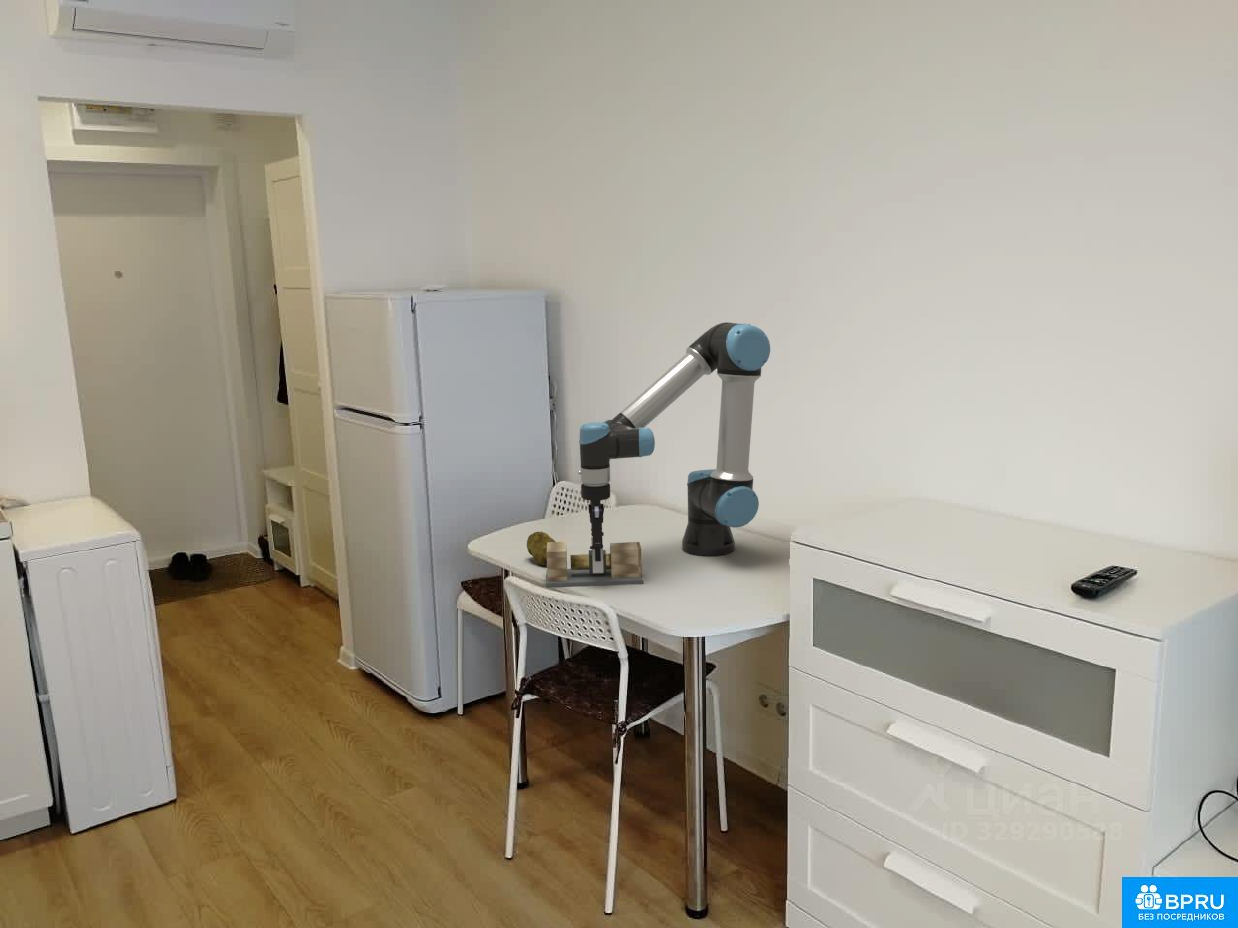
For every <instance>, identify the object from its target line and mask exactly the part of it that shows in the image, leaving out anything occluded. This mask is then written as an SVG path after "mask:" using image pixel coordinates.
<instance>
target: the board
mask: <svg viewBox="0 0 1238 928" xmlns="http://www.w3.org/2000/svg"><path fill="white" fill-rule="evenodd" d="M545 573H546V574H545V588H559V587H561V588H565V587H588V586H589V587H590V586H591V587H593V586H616V585H617V586H619V585H622V586H623V585H624V586H625V585H644V577H643V576H642V577H632V578H612V577H611V569H606V573H596V574H589V570H571V568H567V581H550V582H548V577H547V571H546V572H545Z"/></svg>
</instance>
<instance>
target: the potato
mask: <svg viewBox="0 0 1238 928" xmlns="http://www.w3.org/2000/svg"><path fill="white" fill-rule="evenodd" d="M547 542H556V540H555V539H554V538H552V537H551V536H550V535H549V534H548V533H546V532H543V531H535V532H533V533H532V534H530V535H528V537H527V540H526V548H527V552H528V553H529V554H530V555H531V556H532V558H533V560H534V561H535V563H537V564H538V565H540V566H545V567H547Z"/></svg>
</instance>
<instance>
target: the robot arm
mask: <svg viewBox="0 0 1238 928" xmlns="http://www.w3.org/2000/svg"><path fill="white" fill-rule="evenodd" d="M685 350H686V351H685V355H683V356H682V357H681V358H680V359H678V361H676V362H675V363H674V364H673V365H672V366H671V367H669V369H667V371H665V372H664V373H663V374H662V375H661V376H660V377H658V378H657V379H656V380H655V381H654V382H652V384H651V385H650V386H649V387H647V388H646V389H645V390H644V391H643V392H642V393H640V395H638V396H637V397H636V398H635V399H634V400H633V401H632V402H631V403H630V404H628V405H627V406H626V407H625V408H623V410H621V411H620V412H619V413H618V414H616V415H615V416H614V417H613V418H612V419H606V420H604V421H602V422H587V423H583V424H581V426H580V427H579V442H578V444H579V455H580V456H579V457H580V458H579V459H580V460H579V461H580V470H579V471H578V472H577V474H578V475H580V482H581V483H582V484H581V485H580V496H581V498H582V499H583V500H584V501H589V502H590V503H589V504H587V505H588V506H587V507H588V514H589V523H590V526H591V528H590V531H591V533H590V534H591V538H590V539H591V545H590V546H589V550H592V559H593V573H603V550H604V544H603V537H605V536H604V534H605V533H604V532H603V524H604V513H605V506H604V503H601V501H605V500H608V499H610V497H611V484H610V482H611V465H610V464H611V463H610V462H611V461H610V460H617V459H619V460H620V459H629V458H630V459H631V458H643V457H648V456H651V455H652V454H653V453H654V451H655V446H656V443H655V442H656V441H655V435H654V432H653V430H652V429H651V428H649V427H648V425H649V424H650V423H652V422H653V420H655V419H656V418H657V417H659V415H660V414H662V412H664V411H665V410H666V409H667V408H668V407H670V405H672V404H673V403H674V402H675V401H677V400H678V398H679V397H680V396H681V395H683V394H684V393H685V392H686V391H688V389H690V388H691V387H692V386H693V385H694V384H695V383H696V382H698V381H699V380H700V379H701V378H702V377H703V376H705V375H707V376H710V375H711V374H712V373H713V372H715V371H716V375H717V376H718V377H719V378H720V379H721V395H720V407H719V408H720V411H719V425H718V427H719V428H718V439H717V452H716V453H717V454H716V455H717V457H716V467H715V469H712V468H711V469H700V470H694V471H690V472H689V474H688V475H687V484H686V485H687V525H686V527H685V531H684V534H683V537H682V541H681V549H682V550H683V551H684V552H685V553H688V554H690V555H695V556H708V557H709V556H710V557H711V556H722V555H726V554H731V553H732V552H734V551H735V549H736V541H735V537H734V534H733V531H732V529H731V528H741V527H744V526H746V525H747V524H749V523H750V522H751V521H753V520H754V518H755V516H756V515H757V513H758V510H759V505H760V504H759V503H760V502H759V497H758V495H757V494H756V492H755V490H754V489H753V488H754V476H753V475H752V474H751V472H750V470H749V465H750V464H749V463H750V450H751V449H750V448H751V435H752V422H753V409H754V408H753V407H754V392H755V384H756V382H757V380H758V379H760V378H761V376H762V367H764V365H765V363H767V362H768V360H769V357H770V355H771V344H770V340H769V337H768V335H767V334H766V333H765V331H764V330H762V329H761V328H759V327H758V326H755V325H751V324H750V323H736V322H735V323H734V322H720V323H718V324H715V325H714V326H712V327H710V328H709V329H708V330H706V331H705V332H704V333H703V334H702V335H700V336H699V337H698V338H697V339H695V340H694V341H693V342H692V343H691V344H690V345H689V346H688V347H687V348H686V349H685Z"/></svg>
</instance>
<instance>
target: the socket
mask: <svg viewBox="0 0 1238 928" xmlns="http://www.w3.org/2000/svg"><path fill="white" fill-rule="evenodd" d="M567 555H568V554H567V541H555V542H547V566H546V572H547V577H548V582H550V581H567V569H568V560H567V559H568V556H567Z"/></svg>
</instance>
